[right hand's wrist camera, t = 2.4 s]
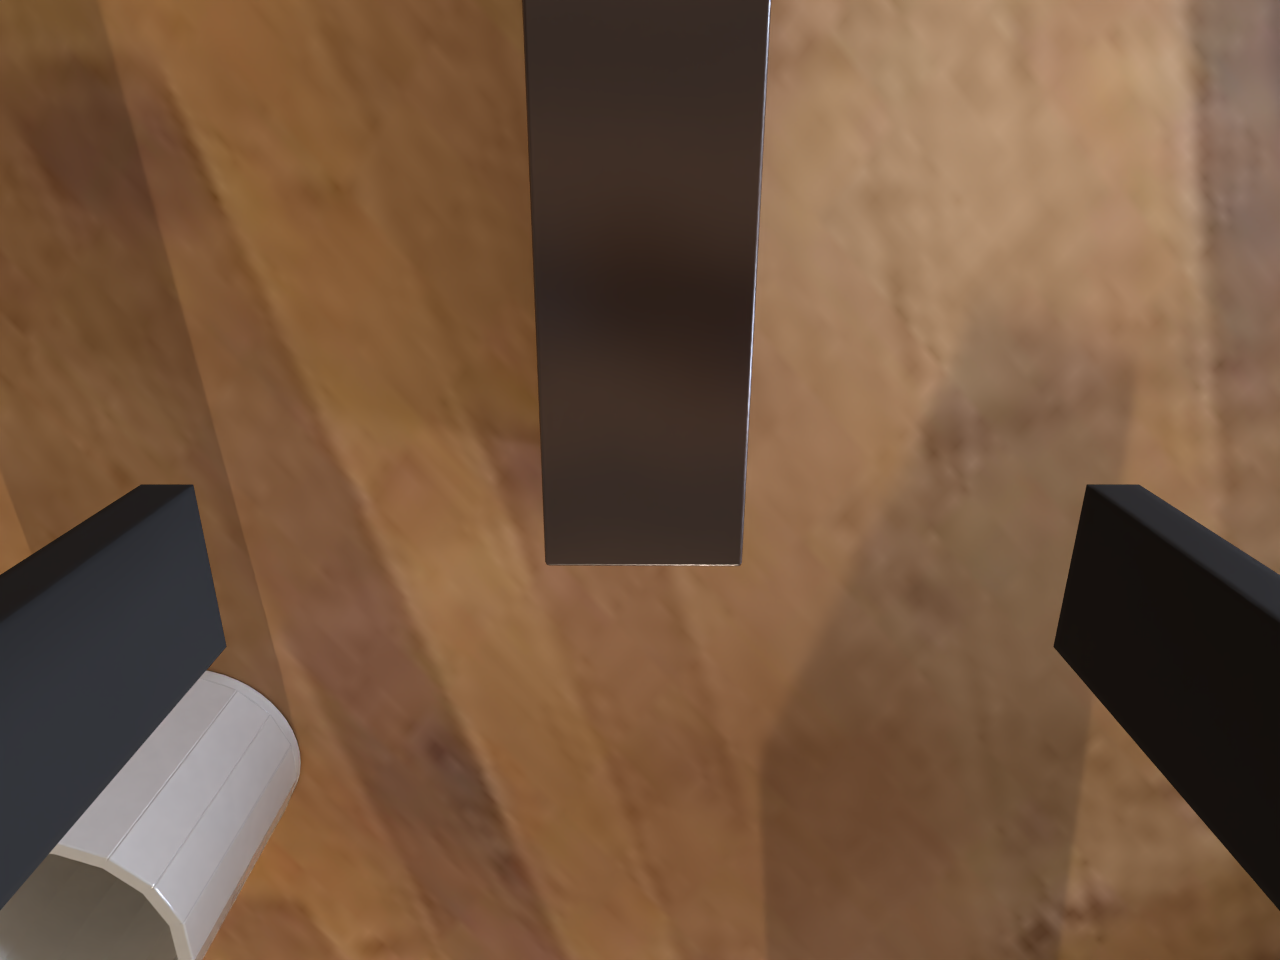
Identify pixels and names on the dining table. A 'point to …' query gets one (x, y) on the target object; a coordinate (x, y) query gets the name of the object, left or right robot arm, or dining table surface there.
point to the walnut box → (645, 271)
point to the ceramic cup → (163, 837)
